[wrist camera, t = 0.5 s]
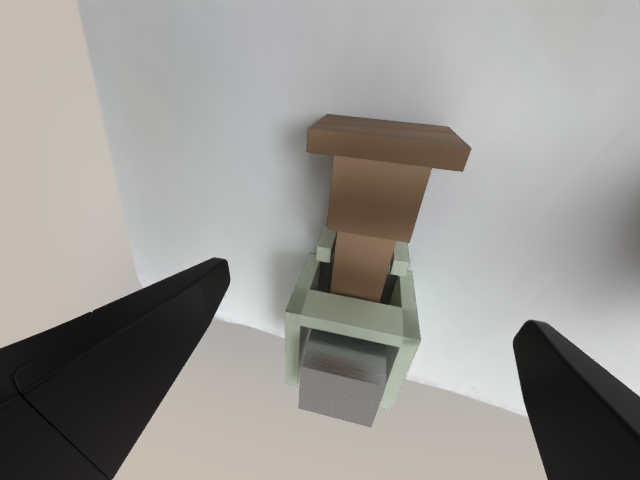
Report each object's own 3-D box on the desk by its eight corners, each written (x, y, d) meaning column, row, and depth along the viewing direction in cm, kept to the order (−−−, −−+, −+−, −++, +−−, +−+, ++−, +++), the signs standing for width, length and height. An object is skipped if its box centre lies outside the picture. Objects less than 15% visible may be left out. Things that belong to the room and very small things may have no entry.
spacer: (386, 319, 19) (386, 387, 15) (373, 360, 22) (370, 427, 18) (318, 305, 20) (300, 366, 16) (314, 346, 23) (298, 408, 19)
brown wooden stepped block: (327, 114, 16) (307, 129, 12) (448, 127, 15) (471, 148, 11) (312, 316, 26) (298, 363, 22) (385, 332, 25) (384, 384, 21)
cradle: (422, 241, 20) (435, 306, 14) (390, 338, 26) (390, 410, 20) (311, 223, 21) (284, 277, 15) (306, 320, 27) (285, 383, 22)
